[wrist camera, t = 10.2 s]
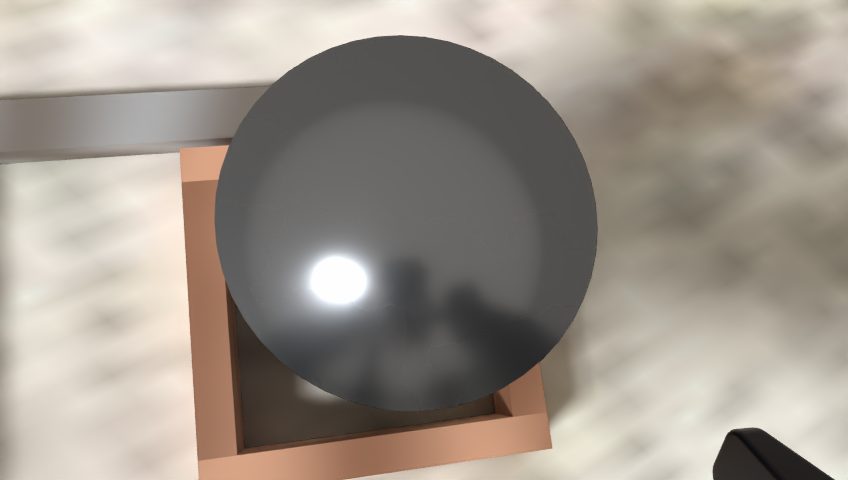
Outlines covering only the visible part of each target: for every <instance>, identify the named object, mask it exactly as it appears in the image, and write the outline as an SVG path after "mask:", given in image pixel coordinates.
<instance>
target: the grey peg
mask: <svg viewBox="0 0 848 480" xmlns="http://www.w3.org/2000/svg"><path fill="white" fill-rule="evenodd" d="M214 223H215V235H216V246H217V251H218V255H219V259H220V264H221V268H222V272H223V275H224V277H225V280H226V283H227V285H228V288H229V291H230V293H231V296H232V298H233V300H234V301H235V303H236V305H237V307H238V309H239V311H240V312H241V314H242V316H243V318H244V320H245V321H246V322H247V324H248V325H249V326H250V328H251V329H252V331H253V332H254V333H255V335H256V336H257V337H258V339H259V340H260V341H261V342H262V343H263V344H264V345H265V346H266V347H267V348H268V349H269V351H270V352H271V353H272V354H273V355H274V356H275V357H276V358H277V359H278V360H279V361H281V362H282V363H283V364H284V365H286V366H287V367H288V368H290V369H291V370H292V371H293V372H295V373H296V374H297V375H299V376H300V377H301V378H303V379H305V380H306V381H308V382H310V383H312V384H313V385H315V386H317V387H318V388H320V389H322V390H324V391H326V392H328V393H331V394H333V395H336V396H338V397H340V398H343V399H345V400H348V401H351V402H354V403H358V404H362V405H366V406H370V407H374V408H380V409H388V410H397V411H429V410H436V409H442V408H449V407H455V406H458V405H462V404H465V403H468V402H472V401H475V400H478V399H481V398H483V397H485V396H487V395H490V394H492V393H494V392H496V391H498V390H501V389H503V388H504V387H506V386H507V385H509V384H511V383H512V382H514V381H515V380H517V379H518V378H520V377H522V376H523V375H524V374H526V373H527V372H528V371H529V370H530V369H532V368H533V367H534V366H535V365H536V364H538V363H539V362H540V361H541V360H542V359H543V358H544V357H545V356H546V355H547V354H548V353H549V352H550V350H551V349H552V348H553V347H554V346H555V345H556V344H557V343H558V342H559V340H560V339H561V337H562V336H563V334H564V333H565V332H566V330H567V329H568V327H569V326H570V324H571V323H572V321H573V319H574V317H575V315H576V313H577V311H578V309H579V307H580V305H581V303H582V301H583V299H584V296H585V294H586V291H587V288H588V285H589V282H590V279H591V275H592V270H593V265H594V260H595V255H596V245H597V230H598V229H597V213H596V203H595V198H594V193H593V188H592V183H591V179H590V176H589V173H588V170H587V167H586V164H585V161H584V159H583V156H582V154H581V152H580V150H579V148H578V146H577V144H576V141H575V139H574V138H573V136H572V134H571V133H570V131H569V130H568V128H567V126H566V125H565V123H564V122H563V120H562V119H561V117H560V116H559V115H558V114H557V112H556V111H555V110H554V109H553V107H552V106H551V105H550V104H549V102H548V101H547V100H546V99H545V98H544V97H543V96H542V95H541V94H540V93H539V92H538V91H537V90H536V89H535V88H534V87H533V86H532V85H531V84H529V83H528V82H527V81H525V80H524V79H523V78H521V77H520V76H519V75H518V74H516V73H515V72H514V71H512V70H511V69H509V68H508V67H506V66H504V65H503V64H501V63H499V62H498V61H496V60H494V59H493V58H491V57H488V56H486V55H484V54H482V53H479V52H477V51H475V50H473V49H471V48H467V47H464V46H461V45H458V44H455V43H452V42H448V41H444V40H438V39H433V38H427V37H418V36H402V35H399V36H381V37H373V38H367V39H362V40H356V41H352V42H349V43H346V44H342V45H339V46H336V47H333V48H330V49H328V50H326V51H324V52H321V53H319V54H317V55H315V56H313V57H311V58H309V59H307V60H305V61H304V62H302V63H301V64H299V65H298V66H296V67H294V68H293V69H291V70H290V71H288V72H287V73H286V74H285V75H283V76H282V77H281V78H280V79H279V80H277V81H276V82H275V83H274V84H273V85H271V86H270V87H269V88H268V89H267V91H266V92H265V93H264V94H263V95H262V96H261V97H260V98H259V99H258V100H257V101H256V103H255V104H254V105H253V106H252V108H251V109H250V111H249V112H248V113H247V115H246V116H245V118H244V119H243V121H242V122H241V123H240V125H239V127H238V129H237V131H236V133H235V135H234V137H233V139H232V141H231V143H230V145H229V147H228V150H227V153H226V156H225V158H224V161H223V164H222V167H221V170H220V175H219V180H218V185H217V190H216V197H215V216H214Z"/></svg>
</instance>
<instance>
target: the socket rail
mask: <svg viewBox="0 0 848 480" xmlns="http://www.w3.org/2000/svg"><path fill="white" fill-rule="evenodd" d="M269 87H270V86H264V87H244V88H225V89H206V90H186V91H167V92H147V93H128V94H108V95H89V96H69V97H50V98H30V99H11V100H0V164H7V163H22V162H37V161H52V160H67V159H83V158H98V157H113V156H128V155H143V154H159V153H174V152H180V164H181V181H182V198H183V215H184V232H185V249H186V266H187V283H188V301H189V318H190V335H191V352H192V369H193V386H194V403H195V420H196V438H197V455H198V472H199V480H344V479H351V478H357V477H364V476H371V475H377V474H384V473H391V472H398V471H404V470H411V469H418V468H424V467H431V466H438V465H445V464H451V463H458V462H465V461H471V460H478V459H485V458H491V457H498V456H505V455H512V454H518V453H525V452H532V451H538V450H545V449H552V443H551V436H550V430H549V423H548V416H547V410H546V403H545V396H544V390H543V383H542V377H541V370H540V363H538V364H536V365H535V366H534V367H533V368H532V369H530V370H529V371H528V372H527V373H526V374H524V375H523V376H522V377H520V378H518V379H517V380H515V381H514V382H512V383H511V384H509V385H507V386H506V387H504V388H503V389H501V390H498V391H496V392H494V393H493V398H494V405H495V413H496V414H490V415H483V416H476V417H469V418H461V419H454V420H447V421H440V422H432V423H425V424H418V425H411V426H403V427H396V428H389V429H382V430H375V431H367V432H360V433H353V434H346V435H338V436H331V437H324V438H317V439H309V440H302V441H295V442H288V443H280V444H273V445H266V446H259V447H251V448H245V439H244V425H243V411H242V397H241V383H240V369H239V355H238V341H237V327H236V312H235V301H234V300H233V298H232V296H231V293H230V291H229V288H228V285H227V283H226V280H225V277H224V275H223V272H222V268H221V264H220V259H219V255H218V251H217V246H216V235H215V223H214V216H215V197H216V190H217V185H218V180H219V175H220V170H221V167H222V164H223V161H224V158H225V156H226V153H227V150H228V147H229V145H230V143H231V141H232V139H233V137H234V135H235V133H236V131H237V129H238V127H239V125H240V123H241V122H242V121H243V119H244V118H245V116H246V115H247V113H248V112H249V111H250V109H251V108H252V106H253V105H254V104H255V103H256V101H257V100H258V99H259V98H260V97H261V96H262V95H263V94H264V93H265V92H266V91H267V89H268V88H269Z"/></svg>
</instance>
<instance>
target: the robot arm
mask: <svg viewBox="0 0 848 480" xmlns="http://www.w3.org/2000/svg"><path fill="white" fill-rule="evenodd" d="M713 479H714V480H834V479H833V478H831V477H830V476H829V475H827V474H826V473H824V472H823V471H821V470H820V469H818V468H817V467H816V466H814V465H813V464H811V463H810V462H808V461H807V460H806V459H804V458H803V457H801V456H800V455H798V454H797V453H795V452H794V451H793V450H791V449H790V448H788V447H787V446H785V445H784V444H782V443H781V442H780V441H778V440H777V439H775V438H774V437H772V436H771V435H770V434H768V433H767V432H765V431H763V430H761V429H759V428H742V429H733V430H731V431H730V432H729V433H728V434H727V435H726V437H725V440H724V442H723V444H722V446H721V449H720V451H719V453H718V456H717V458H716V460H715V463H714V465H713Z"/></svg>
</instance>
